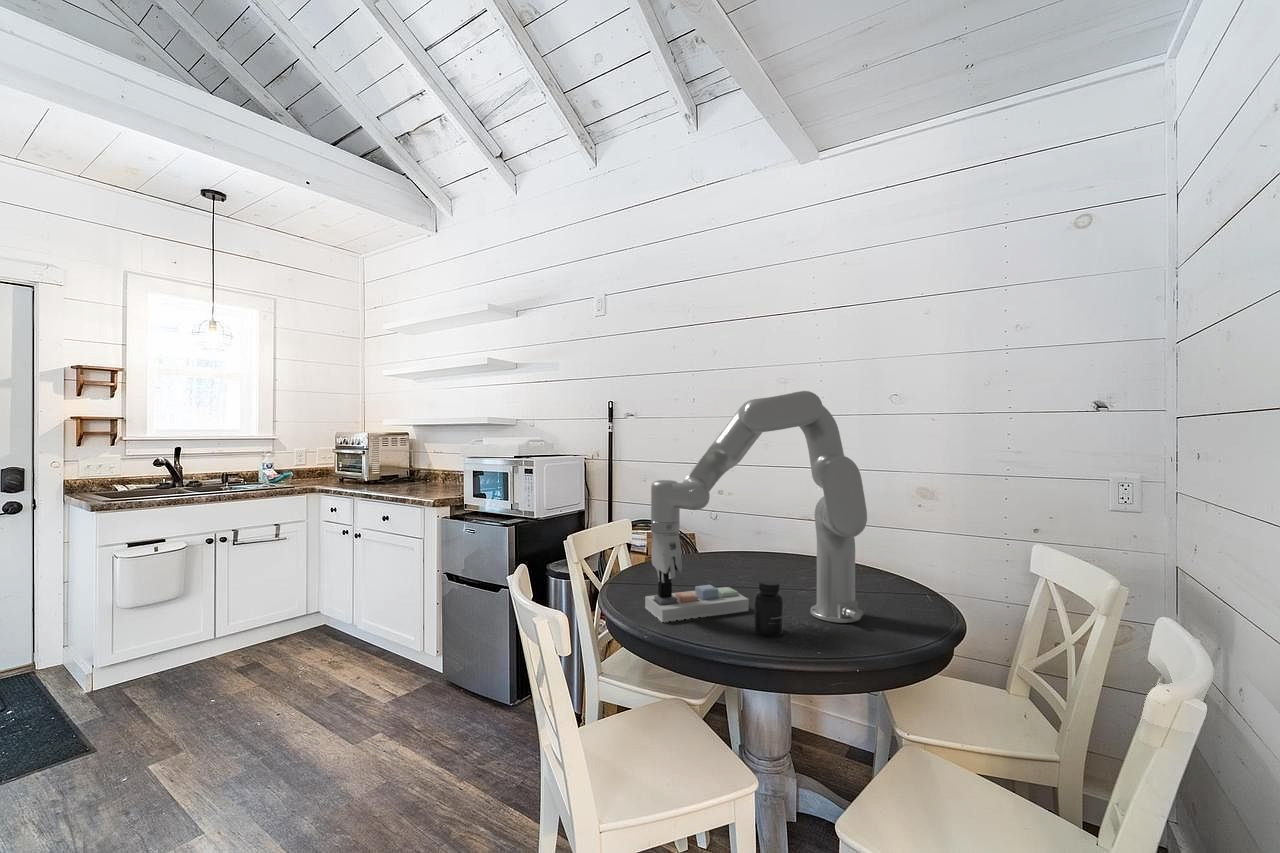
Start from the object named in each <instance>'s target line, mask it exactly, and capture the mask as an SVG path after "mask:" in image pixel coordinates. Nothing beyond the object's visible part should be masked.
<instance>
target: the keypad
mask: <svg viewBox="0 0 1280 853" xmlns="http://www.w3.org/2000/svg"><path fill="white" fill-rule="evenodd" d="M726 587H727V586H724V587H720V588H726ZM716 588H717V589H718V588H719V587H716ZM683 592H684V591H681V592H679V591H678V593H683ZM686 592H692V593H693V594H695V590H689V591H688V590H687V591H686ZM675 593H676V592H672V595H673V596H674V597H675ZM656 595H657V594H655V595H654V594H653V595H646V596H645V600H644V603H645V604H644V605H645V607H644V609H646V610H647V611H648V612H649V613H650V612H651V613H650V614H652V615H653V616H654V617H655V618H656V617H657V618H658V619H657V618H656V619H657V620H658V621H660V622H661V623H662V622H664V623H670V622H669V621H671V622H677V621H676V620H678V621H684V619H686V620H691V619H690V618H693V619H699V618H698V617H701V618H706V617H707V616H708V617H714V616H721V615H728V614H729V615H730V614H736V613H743V612H745V613H746V612H749V605H750V604H749V602H750V599H749V598H747V597H745V596H744V595H742V594H741V593H739V592H738V596H736V597H728V598H721V597H719V596H718V599H711V600H703V601H702V600H700V599H699V598H698V601H695V602H687V603H681V602H679V601H678V600H677V604H671V605H663V606H660V605H658V604H657V603H656V602H654V596H656Z"/></svg>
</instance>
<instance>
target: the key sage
mask: <svg viewBox="0 0 1280 853" xmlns="http://www.w3.org/2000/svg"><path fill="white" fill-rule="evenodd" d="M725 587H726V588H721V587H717V588H718V596H719V597H721V598H728V597H736V596H738V593H739V592H738V591H737V590H736V589H733V588H732V587H730V586H728V587H727V586H725Z"/></svg>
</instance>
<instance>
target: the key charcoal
mask: <svg viewBox="0 0 1280 853" xmlns="http://www.w3.org/2000/svg"><path fill="white" fill-rule="evenodd" d="M655 595H656V596H654V602H656V603H657V604H658V605H660V606H663V605H671V604H677V598H675V597H674V596H673V595H672V596H671V597H666V598H660V597H659V596H658V594H655Z"/></svg>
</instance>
